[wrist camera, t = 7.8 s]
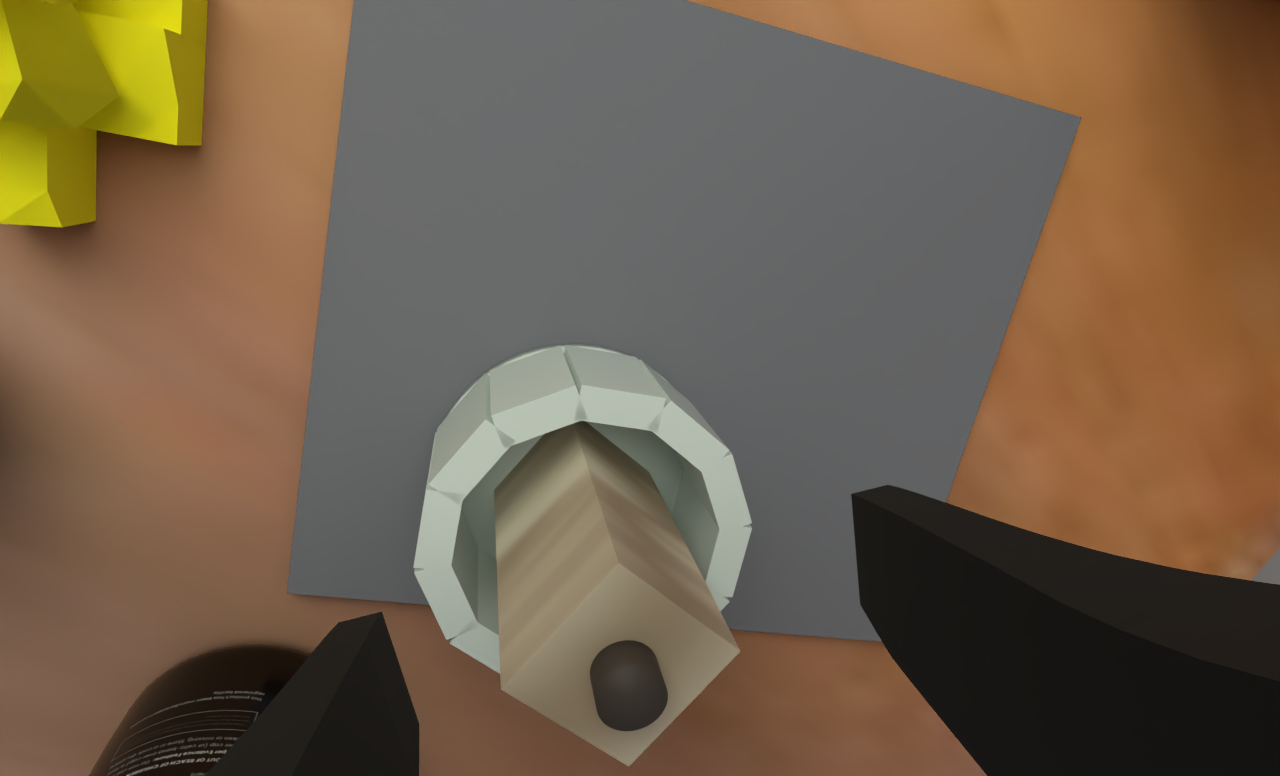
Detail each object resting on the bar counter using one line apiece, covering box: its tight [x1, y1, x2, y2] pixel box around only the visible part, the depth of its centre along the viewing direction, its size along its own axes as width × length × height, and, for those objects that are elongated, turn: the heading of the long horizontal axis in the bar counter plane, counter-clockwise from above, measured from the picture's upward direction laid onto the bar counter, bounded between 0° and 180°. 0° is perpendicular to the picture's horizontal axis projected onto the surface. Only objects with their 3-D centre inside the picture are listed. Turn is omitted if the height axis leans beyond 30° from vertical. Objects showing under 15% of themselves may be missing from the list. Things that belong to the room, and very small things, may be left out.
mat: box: [287, 0, 1081, 642], centre depth 21 cm, size 19×17×1 cm
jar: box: [413, 343, 752, 674], centre depth 19 cm, size 8×8×4 cm
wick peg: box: [494, 421, 740, 767], centre depth 17 cm, size 3×3×9 cm
